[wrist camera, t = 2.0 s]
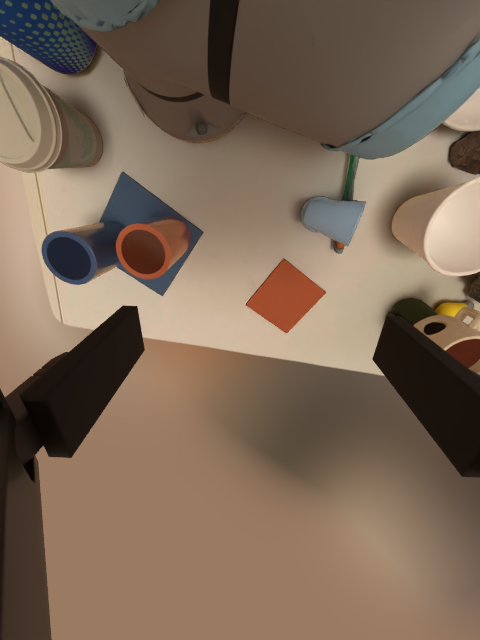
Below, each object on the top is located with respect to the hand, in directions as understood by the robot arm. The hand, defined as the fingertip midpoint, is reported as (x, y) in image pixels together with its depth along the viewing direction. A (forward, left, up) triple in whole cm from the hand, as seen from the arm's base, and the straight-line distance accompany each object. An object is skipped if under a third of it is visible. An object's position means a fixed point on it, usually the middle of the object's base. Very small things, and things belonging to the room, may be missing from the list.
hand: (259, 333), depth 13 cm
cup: (-16, +16, -27) cm, 35 cm away
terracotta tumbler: (+6, -10, -27) cm, 29 cm away
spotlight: (-9, +5, -27) cm, 29 cm away
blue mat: (+9, -14, -27) cm, 31 cm away
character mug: (-6, +27, -27) cm, 39 cm away
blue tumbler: (+12, -17, -27) cm, 34 cm away
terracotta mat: (+4, +9, -27) cm, 29 cm away
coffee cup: (+3, -26, -27) cm, 38 cm away
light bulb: (-12, +30, -27) cm, 42 cm away
